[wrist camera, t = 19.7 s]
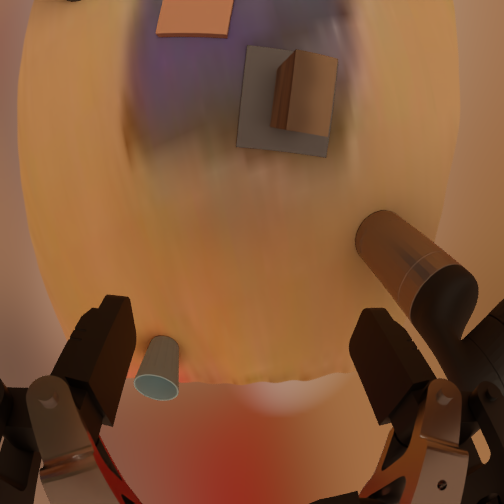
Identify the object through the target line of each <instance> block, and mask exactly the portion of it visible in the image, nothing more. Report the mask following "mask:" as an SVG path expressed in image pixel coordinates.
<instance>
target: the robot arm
mask: <svg viewBox="0 0 504 504" xmlns="http://www.w3.org/2000/svg"><path fill="white" fill-rule="evenodd" d="M356 249H357V252H358V254H359V255H360V257H361V258H362V259H363V260H364V261H365V263H366V264H367V265H368V266H369V268H370V269H371V270H372V271H373V273H374V274H375V275H376V277H377V278H378V279H379V280H380V282H381V283H382V284H383V285H384V287H385V288H386V289H387V291H388V292H389V293H390V295H391V296H392V297H393V299H394V300H395V301H396V303H397V304H398V305H399V307H400V308H401V309H402V310H403V312H404V313H405V315H406V316H407V317H408V319H409V320H410V321H411V323H412V324H413V326H414V327H415V328H416V330H417V331H418V332H419V334H420V335H421V336H422V338H423V339H424V340H425V342H426V343H427V345H428V346H429V348H430V349H431V350H432V352H433V354H434V355H435V357H436V359H437V360H438V362H439V364H440V366H441V368H442V369H443V371H444V373H445V375H446V377H447V379H448V380H446V379H442V378H439V379H437V378H436V376H435V375H434V373H433V372H432V370H431V368H430V367H429V365H428V363H427V362H426V360H425V359H424V357H423V355H422V354H421V352H420V351H419V350H417V346H416V345H415V343H414V342H413V341H412V339H411V337H410V336H409V334H408V333H407V331H406V330H405V329H404V328H403V327H402V326H401V325H400V324H398V323H397V322H396V321H394V320H393V319H392V317H391V316H390V314H389V313H388V311H387V310H386V309H385V308H365V309H364V310H363V311H362V313H361V315H360V317H359V320H358V322H357V325H356V327H355V329H354V332H353V334H352V336H351V339H350V343H349V352H350V356H351V358H352V361H353V363H354V365H355V368H356V370H357V372H358V374H359V377H360V379H361V382H362V384H363V386H364V389H365V391H366V394H367V396H368V399H369V401H370V404H371V406H372V408H373V411H374V414H375V416H376V419H377V421H378V424H379V425H384V424H388V423H392V425H393V427H392V429H391V430H390V432H389V434H388V437H387V440H386V443H385V446H384V449H383V451H382V454H381V457H380V460H379V462H378V465H377V467H376V470H375V472H374V474H373V476H372V477H371V479H370V480H369V481H368V482H367V483H366V485H365V486H364V487H363V489H362V491H361V492H360V494H359V495H358V491H355V492H351V493H347V494H343V495H339V496H334V497H329V498H324V499H319V500H317V501H315V502H312V503H310V504H504V299H503V300H502V301H501V302H500V303H499V304H498V305H497V306H496V307H495V308H494V309H493V310H492V311H491V312H490V313H489V314H488V315H487V316H486V317H485V318H484V319H483V320H482V321H481V322H480V323H479V324H478V325H477V326H476V327H475V328H474V329H473V330H472V331H471V332H470V333H469V334H468V335H467V336H466V337H465V338H464V339H462V340H461V337H462V334H463V331H464V329H465V326H466V324H467V322H468V321H469V319H470V317H471V315H472V313H473V311H474V308H475V306H476V303H477V299H478V284H477V281H476V280H475V278H474V276H473V275H472V274H471V273H470V272H468V271H467V270H466V269H465V268H464V267H463V266H462V265H460V264H459V263H458V262H457V261H456V260H455V259H453V258H452V257H451V256H450V255H448V254H447V253H446V252H445V251H444V250H442V249H441V248H440V247H439V246H437V245H436V244H435V243H434V242H432V241H431V240H430V239H428V238H427V237H426V236H425V235H423V234H422V233H421V232H419V231H418V230H417V229H415V228H414V227H413V226H411V225H410V224H409V223H407V222H406V221H405V220H403V219H402V218H401V217H399V216H398V215H396V214H395V213H393V212H391V211H386V210H385V211H378V212H375V213H373V214H372V215H370V216H369V217H368V218H366V219H365V220H364V222H363V223H362V224H361V226H360V228H359V229H358V232H357V235H356ZM135 346H136V329H135V324H134V319H133V313H132V307H131V302H130V299H129V297H125V296H116V295H106V296H105V298H104V299H103V301H102V303H101V305H100V306H99V308H91V309H90V310H89V311H88V312H86V313H85V314H84V315H83V316H82V317H81V318H80V320H79V322H78V323H77V325H76V327H75V330H74V331H73V332H72V334H71V336H70V339H69V340H68V341H67V343H66V345H65V347H64V349H63V351H62V353H61V355H60V357H59V359H58V361H57V363H56V365H55V367H54V369H53V371H52V373H51V374H50V375H48V376H42V377H40V378H38V379H37V380H35V381H34V382H33V383H32V384H31V385H30V386H29V388H11V387H6V386H5V385H4V383H3V382H2V380H1V379H0V442H1V438H2V436H3V437H4V441H3V444H2V448H1V451H0V504H33V503H34V496H35V489H36V483H37V478H38V472H39V468H40V463H41V459H42V460H43V464H44V466H43V468H41V469H40V473H39V474H40V479H41V482H42V485H43V487H44V490H45V492H46V495H47V497H48V499H49V501H50V503H51V504H142V503H141V501H140V500H139V498H138V497H137V496H136V494H135V493H134V492H133V491H132V489H131V488H130V487H129V486H128V484H127V483H126V481H125V480H124V478H123V477H122V475H121V473H120V472H119V470H118V468H117V466H116V465H115V463H114V461H113V460H112V458H111V456H110V454H109V452H108V450H107V448H106V446H105V445H104V442H103V440H102V438H101V436H100V435H99V432H100V428H101V425H102V424H104V425H108V426H112V427H113V424H114V420H115V416H116V412H117V409H118V405H119V401H120V397H121V393H122V390H123V387H124V383H125V380H126V376H127V373H128V369H129V366H130V363H131V360H132V356H133V353H134V350H135ZM479 429H481V431H482V433H483V435H484V437H485V439H486V442H487V444H488V446H489V449H490V452H491V456H490V459H489V461H488V462H487V463H486V464H483V463H482V462H481V460H480V457H479V455H478V453H477V450H476V448H475V445H474V443H473V441H472V438H471V436H473V435H474V434H475V433H476V432H477V431H478V430H479Z"/></svg>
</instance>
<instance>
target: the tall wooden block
mask: <svg viewBox="0 0 504 504" xmlns="http://www.w3.org/2000/svg"><path fill="white" fill-rule="evenodd" d="M337 63H338V59H336V58H332V57H329V56H325V55H320V54H316V53H311V52H307V51H302V50H297V49H296V50H295V51H294V52H293V53H292V54H291V55H290V56H289V57H288V58H287V59H286V60H285V61H284V62H283V63H282V64H281V65H280V66H279V67H278V68H277V74H276V82H275V90H274V98H273V106H272V115H271V123H270V127H274V128H279V129H284V130H289V131H296V132H302V133H308V134H314V135H320V136H325V137H328V134H329V127H330V120H331V113H332V106H333V98H334V90H335V81H336V72H337Z"/></svg>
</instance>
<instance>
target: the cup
mask: <svg viewBox="0 0 504 504" xmlns="http://www.w3.org/2000/svg"><path fill="white" fill-rule="evenodd" d="M178 373H179V347H178V344H177V343H176V341H174V340H173V339H172V338H170V337H167V336H157V337H154V338H153V339H152V340H151V342H150V345H149V347H148V349H147V351H146V354H145V356H144V358H143V361H142V363H141V365H140V368H139V370H138V372H137V375H136V377H135V380H134V386H135V388H136V389H137V390H138V391H139V392H140V393H141V394H143V395H144V396H146V397H149V398H152V399H155V400H171V399H173V398H175V397H176V396H177V395H178V393H179V388H178V387H179V386H178V384H179V382H178Z"/></svg>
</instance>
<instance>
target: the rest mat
mask: <svg viewBox="0 0 504 504" xmlns="http://www.w3.org/2000/svg"><path fill="white" fill-rule="evenodd" d="M293 52H294V51H288V50H282V49H275V48H267V47H259V46H250V45H247V52H246V61H245V69H244V78H243V87H242V96H241V105H240V115H239V125H238V135H237V145H236V147H243V148H255V149H265V150H274V151H283V152H291V153H298V154H305V155H312V156H319V157H325V158H326V155H327V148H328V142H329V135H330V127H331V120H332V113H331V120H330V127H329V134H328V137H325V136H320V135H314V134H308V133H302V132H296V131H289V130H284V129H279V128H274V127H270V123H271V115H272V106H273V98H274V90H275V82H276V74H277V68H278V67H279V66H280V65H281V64H282V63H283V62H284V61H285V60H286V59H287V58H288V57H289V56H290V55H291V54H292V53H293ZM337 68H338V63H337ZM336 78H337V72H336ZM335 87H336V81H335ZM334 96H335V90H334ZM333 104H334V98H333ZM332 112H333V106H332Z"/></svg>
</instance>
